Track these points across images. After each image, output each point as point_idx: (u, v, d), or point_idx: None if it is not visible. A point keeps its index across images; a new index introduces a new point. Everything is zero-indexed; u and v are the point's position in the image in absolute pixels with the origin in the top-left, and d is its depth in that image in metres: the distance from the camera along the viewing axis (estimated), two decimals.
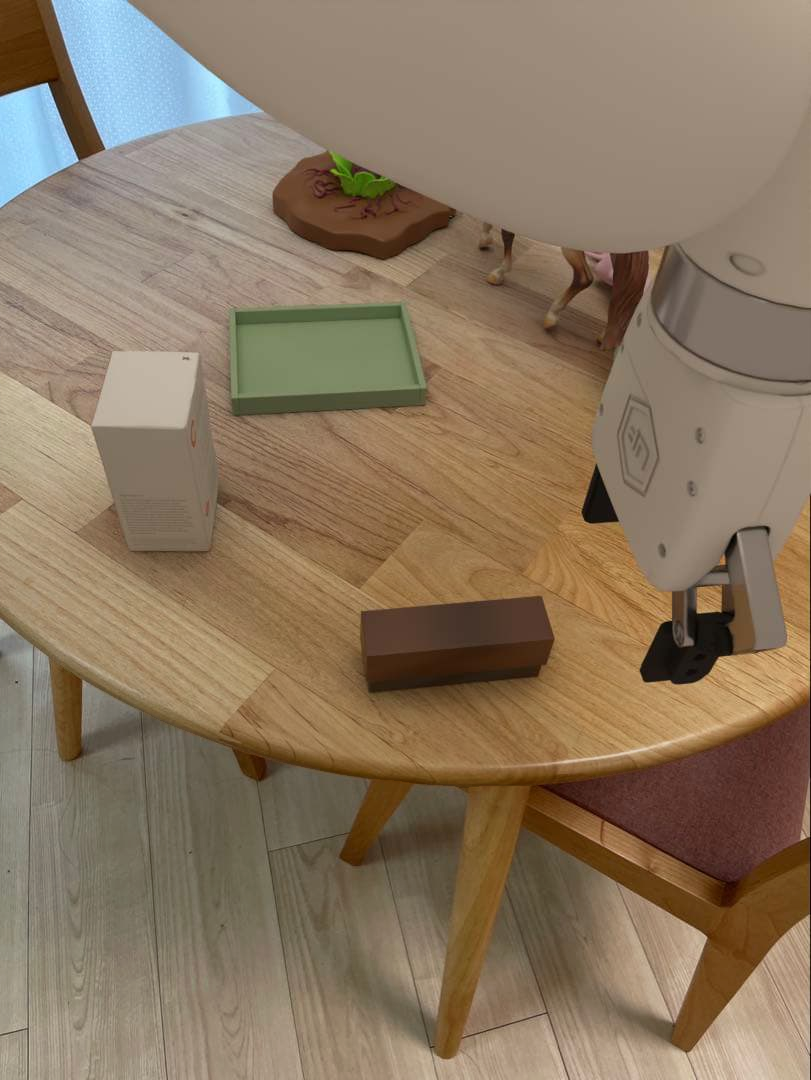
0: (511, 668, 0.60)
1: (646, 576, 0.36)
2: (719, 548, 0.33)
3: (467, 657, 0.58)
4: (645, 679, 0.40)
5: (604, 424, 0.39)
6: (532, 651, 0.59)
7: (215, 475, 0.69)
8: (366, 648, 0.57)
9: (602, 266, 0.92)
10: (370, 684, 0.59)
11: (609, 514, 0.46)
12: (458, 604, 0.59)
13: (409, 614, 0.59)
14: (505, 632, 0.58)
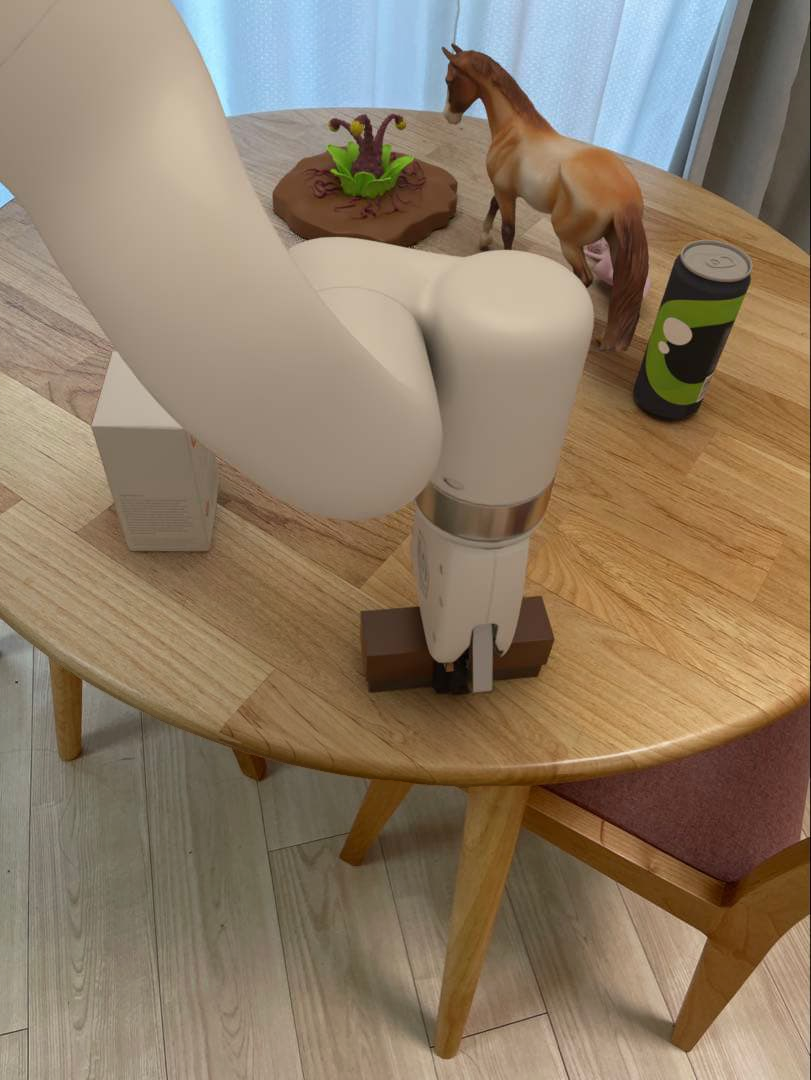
0: (511, 668, 0.60)
1: (430, 651, 0.53)
2: (466, 637, 0.50)
3: None
4: (436, 691, 0.60)
5: (413, 542, 0.56)
6: (532, 651, 0.59)
7: (215, 475, 0.69)
8: (366, 648, 0.57)
9: (602, 266, 0.92)
10: (370, 684, 0.59)
11: None
12: None
13: (409, 614, 0.59)
14: None
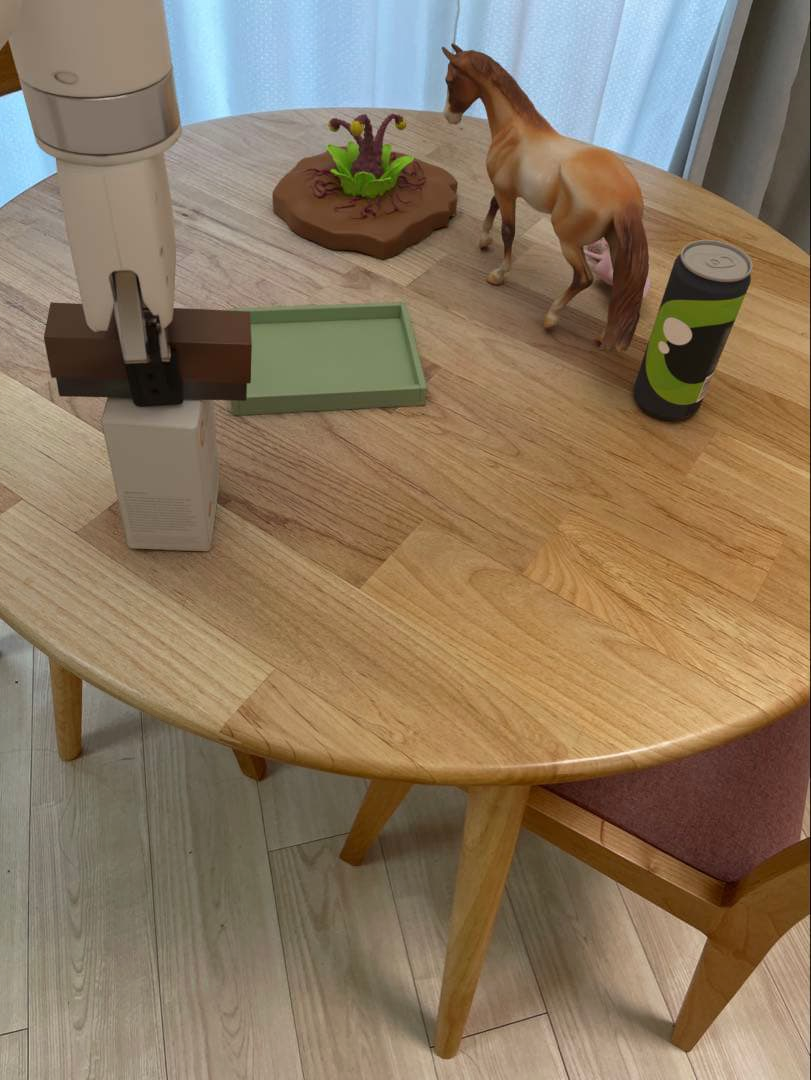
0: (213, 383, 0.58)
1: None
2: (106, 289, 0.48)
3: None
4: (135, 403, 0.57)
5: None
6: (230, 360, 0.57)
7: (217, 475, 0.69)
8: (45, 331, 0.54)
9: (602, 266, 0.92)
10: (57, 383, 0.56)
11: None
12: None
13: None
14: (201, 333, 0.56)
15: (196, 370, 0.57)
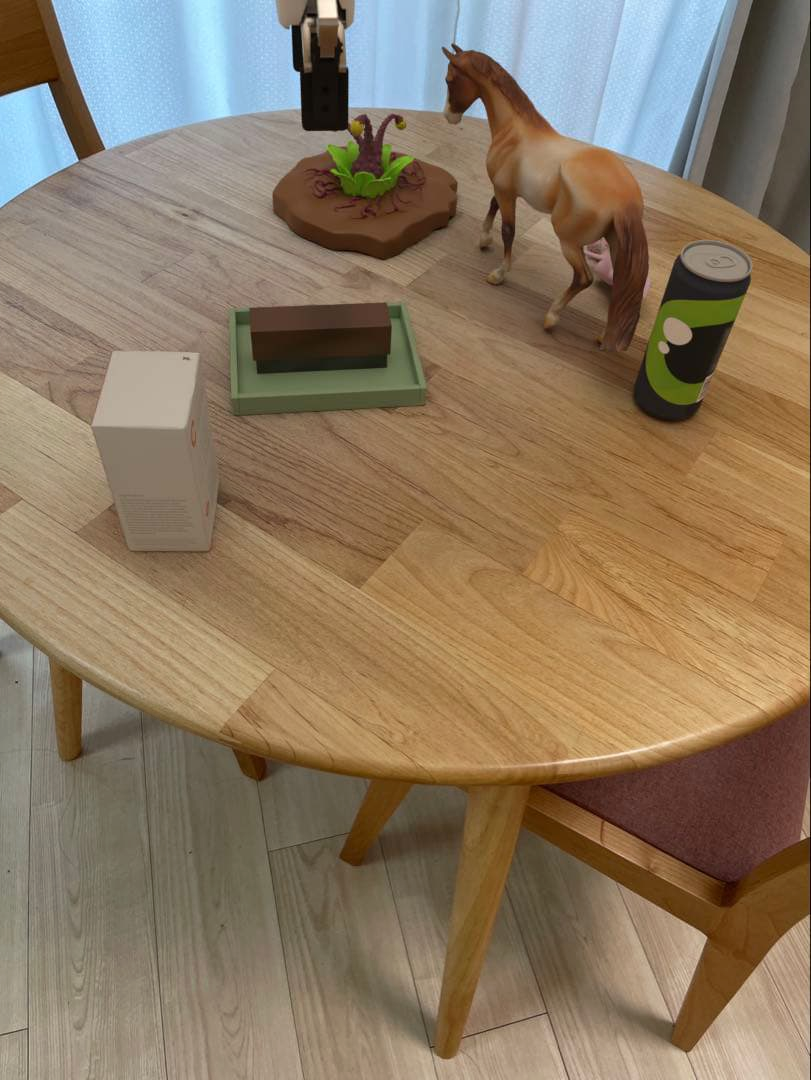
0: (364, 356, 0.81)
1: (279, 20, 0.56)
2: None
3: (328, 340, 0.79)
4: (304, 126, 0.60)
5: None
6: (377, 338, 0.79)
7: (215, 475, 0.69)
8: (250, 327, 0.77)
9: (602, 266, 0.92)
10: (257, 364, 0.80)
11: None
12: (323, 305, 0.80)
13: (285, 310, 0.79)
14: (355, 321, 0.78)
15: (352, 347, 0.80)
